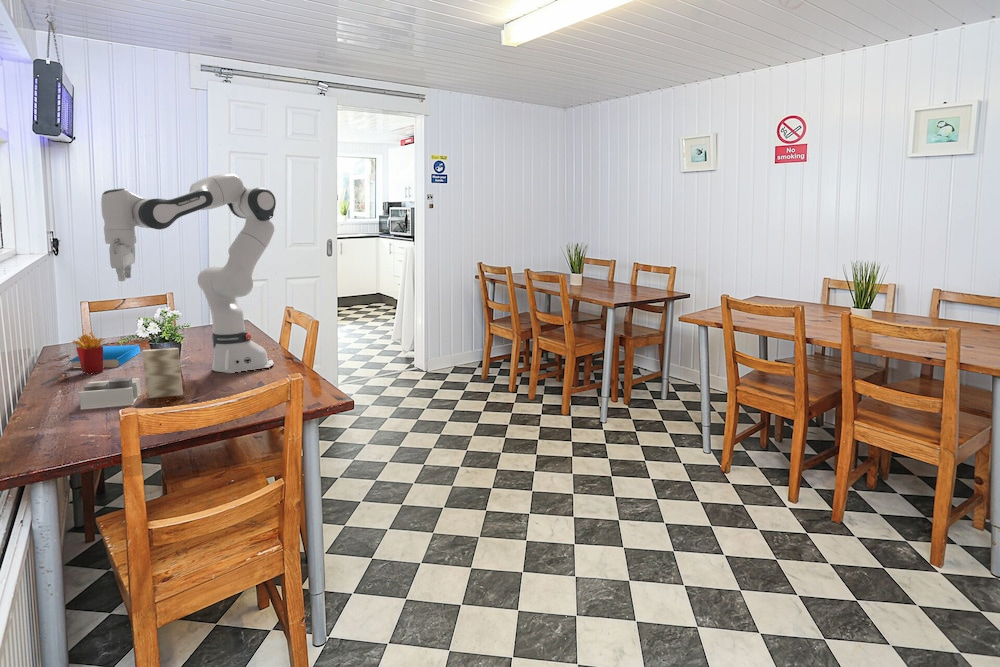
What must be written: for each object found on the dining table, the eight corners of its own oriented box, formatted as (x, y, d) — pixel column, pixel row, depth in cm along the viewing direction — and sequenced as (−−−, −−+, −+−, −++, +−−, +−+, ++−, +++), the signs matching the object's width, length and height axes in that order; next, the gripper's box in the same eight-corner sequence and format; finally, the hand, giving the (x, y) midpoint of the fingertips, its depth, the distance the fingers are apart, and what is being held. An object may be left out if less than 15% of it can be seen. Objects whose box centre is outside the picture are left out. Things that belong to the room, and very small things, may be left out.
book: (69, 360, 239) (94, 345, 263) (71, 371, 240) (96, 355, 264) (119, 358, 243) (139, 343, 267) (120, 368, 244) (140, 353, 268)
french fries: (107, 371, 236) (102, 333, 233) (83, 376, 229) (77, 336, 226) (95, 368, 241) (90, 330, 238) (71, 373, 234) (66, 334, 231)
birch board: (183, 395, 204) (178, 347, 201) (182, 397, 202) (177, 349, 199) (148, 398, 201) (143, 350, 197) (147, 400, 199) (142, 351, 196)
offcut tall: (134, 398, 198) (131, 377, 197) (131, 402, 195) (129, 380, 193) (113, 400, 196) (111, 378, 195) (110, 403, 193) (108, 382, 191)
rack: (141, 396, 205) (139, 377, 204) (133, 409, 192) (131, 389, 191) (92, 400, 201) (89, 381, 199) (80, 414, 188) (77, 393, 186)
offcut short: (110, 400, 196) (107, 382, 195) (107, 404, 192) (104, 385, 191) (89, 402, 194) (87, 383, 193) (86, 406, 191) (83, 387, 189)
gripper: (124, 239, 200) (129, 282, 203) (136, 236, 219) (141, 276, 222) (101, 239, 198) (107, 283, 201) (116, 237, 217) (120, 276, 220)
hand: (125, 279), depth 211 cm, fingers open, 8 cm apart
